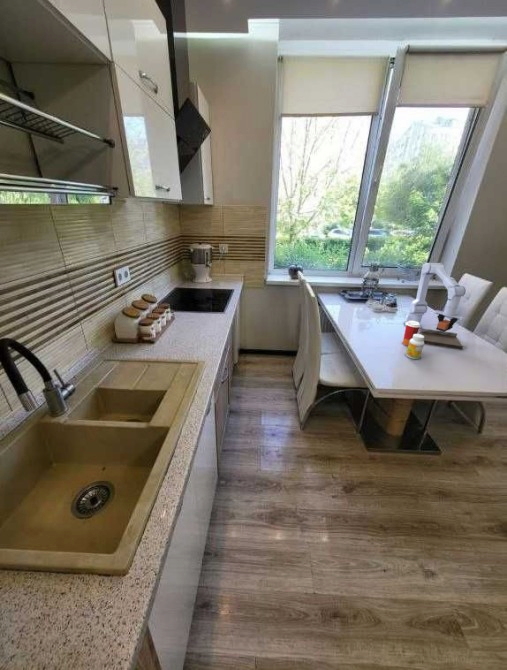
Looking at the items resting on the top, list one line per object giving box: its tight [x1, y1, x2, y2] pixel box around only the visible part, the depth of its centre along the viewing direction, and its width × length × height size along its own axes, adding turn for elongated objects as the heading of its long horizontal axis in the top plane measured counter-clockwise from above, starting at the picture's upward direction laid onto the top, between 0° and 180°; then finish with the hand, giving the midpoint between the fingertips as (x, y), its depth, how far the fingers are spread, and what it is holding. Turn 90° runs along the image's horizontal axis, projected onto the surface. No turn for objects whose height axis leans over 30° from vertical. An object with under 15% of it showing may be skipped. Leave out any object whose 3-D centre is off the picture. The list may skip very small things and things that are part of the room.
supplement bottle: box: [405, 333, 425, 360], centre depth 150 cm, size 7×7×13 cm
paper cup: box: [402, 321, 422, 347], centre depth 164 cm, size 8×8×14 cm
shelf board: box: [419, 327, 464, 350], centre depth 171 cm, size 20×16×4 cm
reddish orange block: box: [435, 319, 454, 332], centre depth 165 cm, size 11×4×4 cm, turn 124°
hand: (444, 328), depth 166 cm, fingers closed on reddish orange block, 4 cm apart
